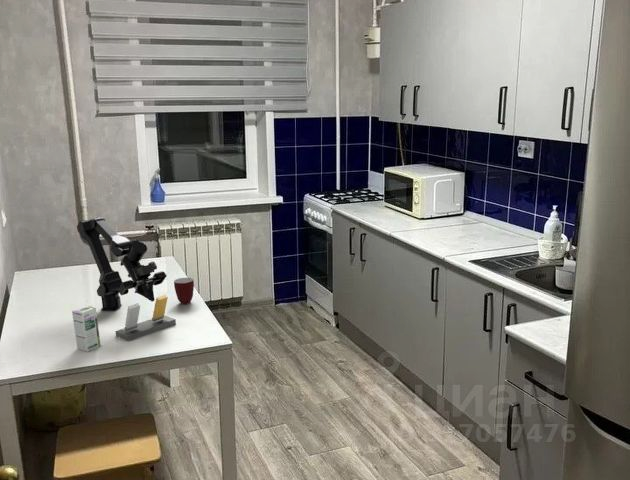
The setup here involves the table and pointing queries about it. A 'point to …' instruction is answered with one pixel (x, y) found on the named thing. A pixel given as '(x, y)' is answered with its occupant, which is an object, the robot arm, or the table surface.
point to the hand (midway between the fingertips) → (153, 300)
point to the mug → (184, 289)
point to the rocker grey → (132, 317)
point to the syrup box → (86, 328)
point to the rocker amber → (159, 308)
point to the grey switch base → (145, 328)
